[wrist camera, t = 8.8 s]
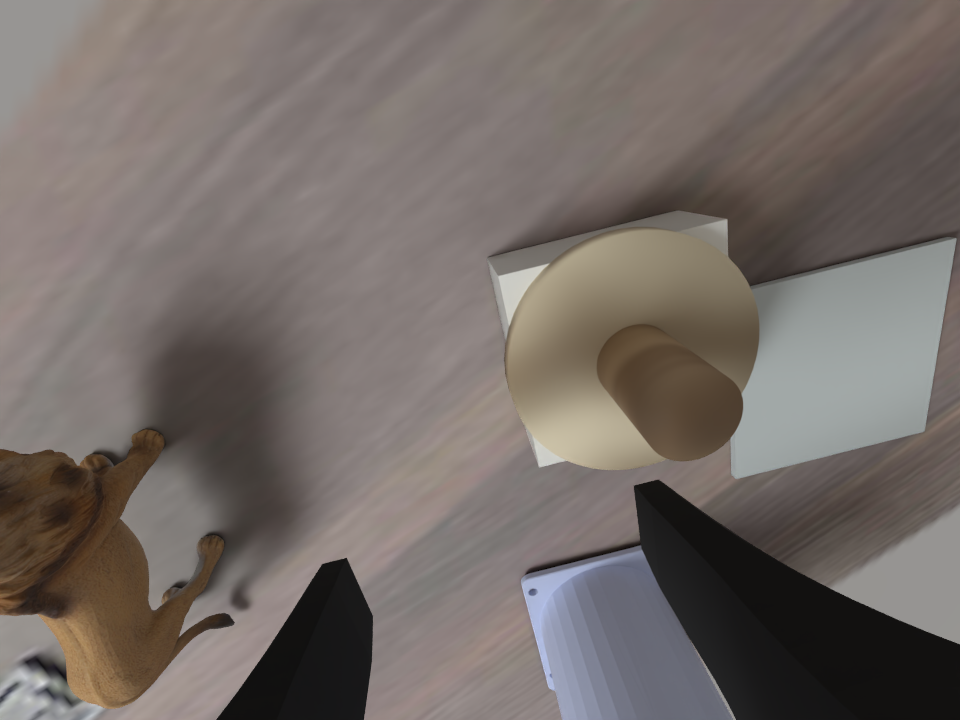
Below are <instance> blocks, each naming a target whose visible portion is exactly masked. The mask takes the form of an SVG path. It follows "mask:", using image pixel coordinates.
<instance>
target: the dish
mask: <svg viewBox="0 0 960 720" xmlns="http://www.w3.org/2000/svg"><path fill="white" fill-rule="evenodd" d="M629 227H655V228H661V229H667V230H672V231H675V232H679V233H683V234H686V235H689V236H692V237H695V238H698V239H701V240H703V241H705V242H706V243H708V244H710V245H712V246H714V247H716V248H717V249H718V250H720V251H721V252H722V253H724V254H725V255H726V256H728V226H727V219H724V218H718V217H713V216H707V215H702V214H696V213H690V212H685V211H679V210H677V211H673V212H669V213H665V214H661V215H657V216H653V217H649V218H644V219H640V220H636V221H632V222H628V223H624V224H620V225H616V226H612V227H608V228H604V229H600V230H596V231H592V232H588V233H584V234H580V235H576V236H572V237H568V238H564V239H560V240H556V241H552V242H548V243H544V244H540V245H536V246H532V247H528V248H524V249H520V250H516V251H512V252H508V253H504V254H500V255H496V256H492V257H488V258H487V261H488V266H489V270H490V275H491V279H492V284H493V288H494V293H495V298H496V302H497V307H498V311H499V316H500V320H501V325H502V329H503V334H504V338H505V343H506V338H507V333H508V328H509V326H510V323H511V320H512V317H513V314H514V312H515V310H516V308H517V306H518V304H519V302H520V300H521V298H522V296H523V295H524V293H525V292H526V290H527V289H528V287H529V286H530V284H531V283H532V282H533V280H534V279H535V278H536V277H537V276H538V275H539V274H540V272H541V271H542V270H543V269H544V268H545V267H546V266H547V265H549V264H550V263H551V262H552V261H553V260H554V259H555V258H556V257H558V256H559V255H561V254H562V253H563V252H565V251H566V250H568V249H569V248H571V247H572V246H574V245H576V244H578V243H580V242H582V241H584V240H585V239H588V238H590V237H593V236H596V235H598V234H601V233H604V232H608V231H612V230H616V229H620V228H629ZM523 424H524V423H523ZM524 427H525V425H524ZM525 430H526V432H527V435H528V438H529V440H530V443H531V446H532V449H533V451H534V454H535V457H536V460H537V462H538V465H539V467H543V466H547V465H551V464H555V463H559V462H563V461H567V460H565V459H563V458H561V457H559V456H557V455H555V454H554V453H552V452H551V451H549V450H548V449H547V448H545V447H544V446H543V445H542V444H541V443H540V442H538V441H537V440H536V439H535V438H534V437H533V435H532V434H531V433H530V432H529V430H528V429H527V428H526V427H525Z"/></svg>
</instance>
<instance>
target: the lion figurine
mask: <svg viewBox="0 0 960 720" xmlns="http://www.w3.org/2000/svg"><path fill="white" fill-rule="evenodd" d="M132 443H133V446H132V448H131V449H130V450H129V453H128V456H127V459H126V460H124V461H123V462H121V463H119V464H117V465H116V466H114V465H113V464H112V462H111V461H110V460H109V459H108V458H107V457H105V456H104V455H101V454H98V455H96V454H90V455H88V456H86V457H85V458H84V460H83V461H82V462H81V463H80V466H77V465H76V464H75V462H74V460H73V459H72V458H69V457H68V456H67V455H66V454H65V453H62V452H54V451H53V450H45V451H42V452H38V453H33V454H19V453H16V452H14V451H9V450H4V449H0V615H11V616H19V615H33V614H38V615H39V616H40V617H41V619H42V620H43V621H44V622H45V623H46V624H47V626H48V627H49V628H50V629H51V631H52V632H53V633H54V635H55V636H56V638H57V639H58V641H59V643H60V645H61V647H62V649H63V651H64V654H65V657H66V667H67V681H68V684H69V687H70V688H71V690H72V692H73V693H74V694H75V695H76V696H77V697H78V698H80V699H82V700H84V701H86V702H88V703H92V704H97V705H99V706H101V707H103V708H107V709H115V708H120V707H123V706H125V705H128V704H130V703H132V702H134V701H135V700H136V699H138V698H139V697H140V696H141V695H142V694H143V693H144V692H145V691H146V690H147V689H148V688H149V687H150V686H151V685H152V684H153V683H154V682H155V681H156V680H157V678H158V677H159V676H160V675H161V673H162V672H163V671H164V670H165V669H166V668H167V666H168V665H169V664H170V663H171V661H172V660H173V659H174V658H175V657H176V656H177V654H178V653H179V652H180V651H181V650H182V649H183V648H184V647H185V646H186V645H187V644H188V643H189V642H190V641H191V640H192V639H193V638H194V637H196V636H197V635H198V634H200V633H202V632H204V631H206V630H208V629H218V628H224V627H229V626H232V625H234V623H235V622H234V621H233V620H232V619H231V617H230V615H228V614H226V613H222V614H216V615H212V616H209V617H207V618H205V619H204V620H202V621H200V622H199V623H197V624H195V625H194V626H192V627H191V628H189V629H188V630H187V631H186V632H184V633H183V634H182V635H181V636H180V637H179V634H180V631H181V628H182V625H183V622H184V618H185V616H186V614H187V613H188V611H189V609H190V607H191V605H192V603H193V601H194V600H195V598H196V597H197V596H198V595H199V594H201V593H202V592H203V590H204V589H205V587H206V585H207V582H208V580H209V577H210V575H211V573H212V570H213V568H214V566H215V564H216V563H217V561H218V559H219V558H220V556H221V554H222V552H223V549H224V541H223V539H221V538H220V537H218V536H216V535H211V536H206V537H203V538H201V539H200V540H199V542H198V544H197V552H198V555H199V562H198V565H197V568H196V570H195V572H194V575H193V576H192V577H191V579H190V580H189V582H188V583H187V585H185V586H184V587H183V588H182V589H180V588H176V587H172V588H170V589H168V590H167V591H166V592H165V593H164V594H163V597H162V604H163V605H161V606H160V607H159V608H158V609H157V610H155V611H154V610H152V609H151V608H150V605H149V601H148V594H149V572H148V562H147V559H146V556H145V553H144V550H143V548H142V546H141V544H140V542H139V540H138V539H137V537H136V536H135V535H134V533H133V532H132V531H131V530H130V529H129V528H128V526H127V525H126V524H125V523H124V522H123V521H122V520H121V519H120V517H121V515H122V513H123V511H124V509H125V506H126V504H127V502H128V500H129V498H130V496H131V494H132V493H133V491H134V490H135V488H136V487H137V485H138V484H139V482H140V481H141V479H142V478H143V476H144V475H145V474H146V472H147V471H148V470H149V468H150V467H151V466H152V465H153V464H154V462H155V461H156V460H157V458H158V457H159V455H160V453H161V451H162V449H163V447H164V438H163V436H162V435H161V434H160V433H158V432H156V431H154V430H149V429H144V430H142V431H140V432H138V433H135V434H133V436H132ZM178 637H179V638H178Z"/></svg>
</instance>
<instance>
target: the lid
mask: <svg viewBox="0 0 960 720" xmlns="http://www.w3.org/2000/svg"><path fill="white" fill-rule="evenodd" d="M759 325H760V324H759V316H758V309H757V305H756V302H755V298H754V295H753V293H752V290H751V288H750V286H749V284H748V282H747V280H746V278H745V277H744V275H743V274H742V273H741V271H740V270H739V268H738V267H737V266H736V265H735V264H734V263H733V262H732V261H731V260H730V259H729V258H728V256H726V255H725V254H724V253H722V252H721V251H720V250H718V249H717V248H716V247H714V246H712V245H710V244H708V243H706V242H705V241H703V240H701V239H698V238H695V237H692V236H689V235H686V234H683V233H679V232H675V231H672V230H667V229H661V228H655V227H629V228H620V229H616V230H612V231H608V232H604V233H601V234H598V235H596V236H593V237H590V238H588V239H585V240H584V241H582V242H580V243H578V244H576V245H574V246H572V247H571V248H569V249H568V250H566V251H565V252H563V253H562V254H561V255H559V256H558V257H556V258H555V259H554V260H553V261H552V262H551V263H550V264H549V265H547V266H546V267H545V268H544V269H543V270H542V271H541V272H540V274H539V275H538V276H537V277H536V278H535V279H534V280H533V282H532V283H531V284H530V286H529V287H528V289H527V290H526V292H525V293H524V295H523V296H522V298H521V300H520V302H519V304H518V306H517V308H516V310H515V312H514V314H513V317H512V320H511V323H510V326H509V328H508V333H507V338H506V343H505V357H504V361H505V374H506V379H507V383H508V388H509V391H510V393H511V396H512V399H513V402H514V404H515V407H516V409H517V412H518V414H519V416H520V418H521V420H522V421H523V423H524V425H525V427H526V428H527V429H528V430H529V432H530V433H531V434H532V435H533V437H534V438H535V439H536V440H537V441H538V442H540V443H541V444H542V445H543V446H544V447H545V448H547V449H548V450H549V451H551V452H552V453H554V454H555V455H557V456H559V457H561V458H563V459H565V460H567V461H569V462H572V463H575V464H577V465H580V466H584V467H589V468H594V469H603V470H626V469H633V468H640V467H644V466H648V465H652V464H655V463H658V462H661V461H663V460H666V459H670V460H674V461H691V460H696V459H700V458H702V457H705V456H707V455H709V454H711V453H713V452H715V451H716V450H718V449H719V448H721V447H722V446H723V445H724V444H725V443H726V442H727V441H728V440H729V439H730V438H731V437H732V435H733V434H734V433H735V431H736V429H737V428H738V426H739V424H740V421H741V418H742V414H743V397H742V393H743V391H744V389H745V387H746V385H747V383H748V381H749V378H750V376H751V373H752V371H753V368H754V364H755V361H756V357H757V352H758V345H759Z"/></svg>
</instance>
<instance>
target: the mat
mask: <svg viewBox="0 0 960 720" xmlns="http://www.w3.org/2000/svg"><path fill="white" fill-rule="evenodd" d="M956 239H957V238H952V237H945V238H941V239H937V240H933V241H929V242H925V243H921V244H917V245H913V246H909V247H905V248H901V249H897V250H893V251H889V252H885V253H881V254H877V255H873V256H869V257H865V258H861V259H857V260H853V261H849V262H845V263H841V264H837V265H833V266H829V267H825V268H821V269H817V270H813V271H809V272H805V273H801V274H797V275H793V276H789V277H785V278H781V279H777V280H773V281H769V282H765V283H761V284H757V285H753V286H750V288H751V290H752V293H753V295H754V298H755V302H756V305H757V309H758V316H759V324H760V325H759V345H758V352H757V357H756V361H755V364H754V368H753V371H752V373H751V376H750V378H749V381H748V383H747V385H746V387H745V389H744V391H743V393H742V397H743V414H742V418H741V421H740V424H739V426H738V428H737V429H736V431H735V433H734V434H733V435H732V437H731V475H732V476H733V477H734V478H735V479H738V478H742V477H746V476H750V475H754V474H758V473H762V472H766V471H770V470H774V469H778V468H782V467H786V466H790V465H794V464H798V463H802V462H806V461H810V460H814V459H818V458H822V457H826V456H830V455H834V454H838V453H842V452H846V451H849V450H853V449H857V448H861V447H865V446H869V445H873V444H877V443H881V442H885V441H889V440H893V439H897V438H901V437H905V436H909V435H913V434H917V433H921V432H924V431H925V425H926V419H927V413H928V407H929V401H930V395H931V389H932V383H933V377H934V371H935V365H936V359H937V353H938V347H939V341H940V335H941V329H942V323H943V317H944V311H945V305H946V299H947V293H948V287H949V281H950V275H951V269H952V263H953V257H954V251H955V245H956Z"/></svg>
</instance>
